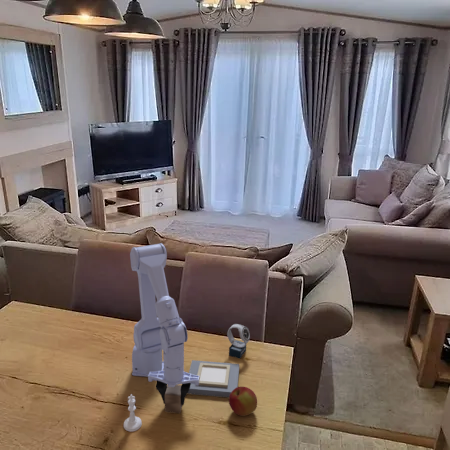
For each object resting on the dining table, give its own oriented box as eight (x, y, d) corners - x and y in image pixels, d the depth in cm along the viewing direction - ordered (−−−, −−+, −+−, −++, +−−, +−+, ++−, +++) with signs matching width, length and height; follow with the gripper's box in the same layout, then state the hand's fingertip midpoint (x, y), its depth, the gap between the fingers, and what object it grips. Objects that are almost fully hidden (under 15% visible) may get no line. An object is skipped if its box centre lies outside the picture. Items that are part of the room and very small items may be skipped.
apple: (236, 399, 126) (237, 377, 123) (260, 409, 122) (262, 387, 119) (223, 415, 119) (224, 392, 117) (248, 426, 116) (250, 403, 113)
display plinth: (184, 393, 127) (184, 386, 126) (192, 365, 141) (192, 358, 140) (236, 398, 126) (236, 390, 125) (239, 369, 139) (239, 362, 139)
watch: (245, 360, 144) (246, 332, 141) (224, 354, 147) (225, 326, 144) (251, 351, 149) (252, 325, 146) (230, 345, 152) (231, 319, 149)
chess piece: (124, 418, 117) (123, 388, 114) (142, 417, 118) (141, 388, 114) (122, 432, 112) (120, 401, 109) (140, 431, 113) (139, 401, 110)
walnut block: (164, 411, 120) (164, 394, 118) (168, 400, 124) (168, 384, 122) (180, 413, 120) (180, 396, 118) (183, 402, 124) (183, 385, 122)
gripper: (144, 369, 114) (146, 409, 118) (196, 373, 113) (196, 414, 117) (151, 354, 121) (152, 392, 125) (200, 358, 119) (200, 397, 124)
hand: (174, 402), depth 121 cm, fingers closed on walnut block, 4 cm apart
